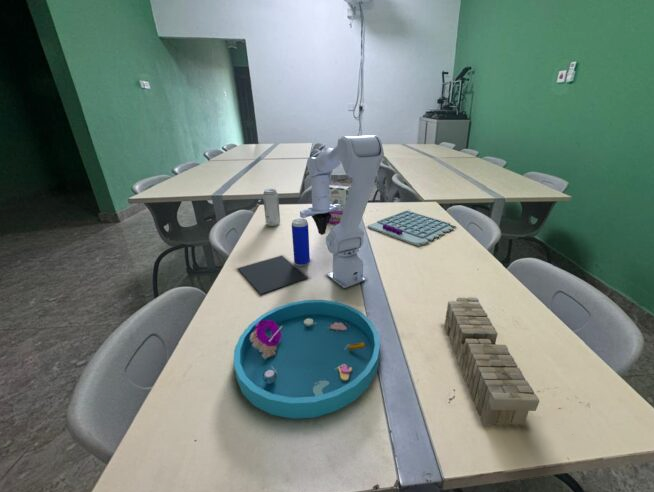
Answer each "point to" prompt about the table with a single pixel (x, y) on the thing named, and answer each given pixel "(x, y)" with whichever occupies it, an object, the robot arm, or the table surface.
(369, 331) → the round teal tray
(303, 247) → the beverage can
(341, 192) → the candy bar box
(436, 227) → the calendar
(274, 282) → the mat
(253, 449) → the table surface
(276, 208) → the energy drink can
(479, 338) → the block tower
